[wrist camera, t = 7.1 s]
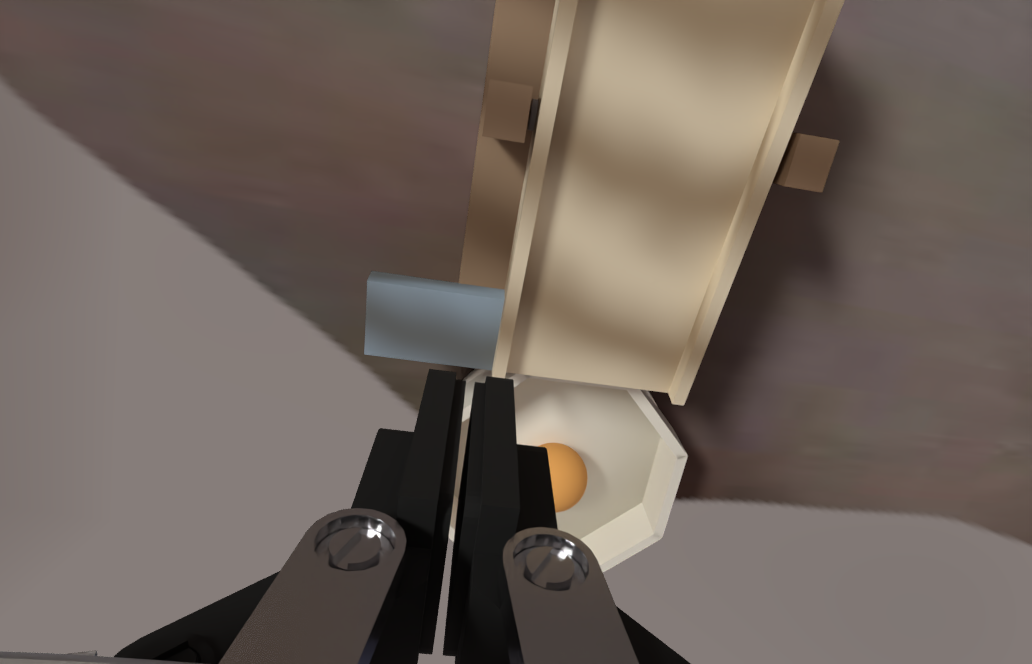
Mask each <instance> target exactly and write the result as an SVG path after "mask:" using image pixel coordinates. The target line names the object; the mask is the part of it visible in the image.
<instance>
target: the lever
mask: <svg viewBox="0 0 1032 664" xmlns="http://www.w3.org/2000/svg"><path fill="white" fill-rule="evenodd" d="M844 1H845V0H556V1H555V7H554V12H553V18H552V24H551V29H550V35H549V41H548V46H547V52H546V58H545V63H544V69H543V75H542V80H541V86H540V92H539V97H538V100H537V99H532V103H531V108H530V114H529V121H528V130H531V131H532V137H531V143H530V148H529V154H528V160H527V165H526V171H525V177H524V182H523V188H522V194H521V199H520V205H519V211H518V216H517V222H516V228H515V233H514V239H513V245H512V250H511V256H510V262H509V267H508V273H507V279H506V284H505V290H504V289H497V288H489V287H482V286H475V285H468V284H461V283H454V282H447V281H440V280H433V279H426V278H418V277H411V276H404V275H397V274H390V273H383V272H376V271H371V274H370V276H369V278H368V280H367V302H366V326H365V350H364V354H366V355H374V356H382V357H390V358H398V359H405V360H413V361H421V362H429V363H437V364H445V365H453V366H460V367H468V368H476V369H484V370H492V377H498V378H505V375H506V372H508V373H515V374H523V375H531V376H539V377H547V378H555V379H563V380H570V381H578V382H586V383H594V384H602V385H610V386H618V387H625V388H633V389H641V390H649V391H657V392H665V393H668V394H669V397H670V399H671V402H672V404H676V405H684V404H685V401H686V399H687V396H688V394H689V391H690V389H691V386H692V384H693V381H694V379H695V376H696V374H697V371H698V369H699V366H700V364H701V361H702V359H703V356H704V354H705V351H706V349H707V346H708V343H709V341H710V338H711V336H712V333H713V331H714V328H715V326H716V323H717V321H718V318H719V316H720V313H721V311H722V308H723V306H724V303H725V301H726V298H727V296H728V293H729V291H730V288H731V285H732V283H733V280H734V278H735V275H736V273H737V270H738V268H739V265H740V263H741V260H742V258H743V255H744V253H745V250H746V248H747V245H748V243H749V240H750V238H751V235H752V233H753V230H754V227H755V225H756V222H757V220H758V217H759V215H760V212H761V210H762V207H763V205H764V202H765V200H766V197H767V195H768V192H769V190H770V187H771V185H772V182H773V180H774V177H775V175H776V172H777V170H778V167H779V164H780V162H781V159H782V157H783V154H784V152H785V149H786V147H787V144H788V142H789V139H790V137H791V134H792V132H793V129H794V127H795V124H796V122H797V119H798V117H799V114H800V112H801V109H802V106H803V104H804V101H805V99H806V96H807V94H808V91H809V89H810V86H811V84H812V81H813V79H814V76H815V74H816V71H817V69H818V66H819V64H820V61H821V59H822V56H823V54H824V51H825V49H826V46H827V43H828V41H829V38H830V36H831V33H832V31H833V28H834V26H835V23H836V21H837V18H838V16H839V13H840V11H841V8H842V6H843V3H844Z"/></svg>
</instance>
